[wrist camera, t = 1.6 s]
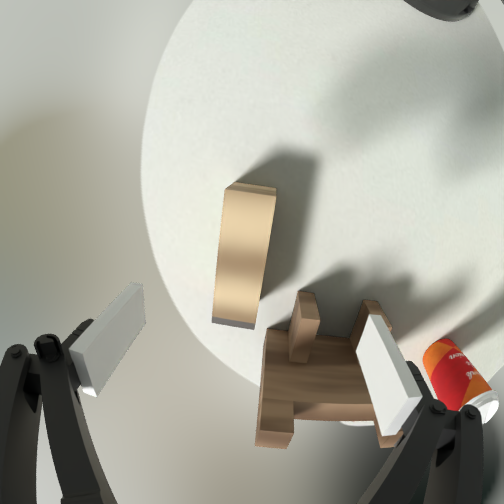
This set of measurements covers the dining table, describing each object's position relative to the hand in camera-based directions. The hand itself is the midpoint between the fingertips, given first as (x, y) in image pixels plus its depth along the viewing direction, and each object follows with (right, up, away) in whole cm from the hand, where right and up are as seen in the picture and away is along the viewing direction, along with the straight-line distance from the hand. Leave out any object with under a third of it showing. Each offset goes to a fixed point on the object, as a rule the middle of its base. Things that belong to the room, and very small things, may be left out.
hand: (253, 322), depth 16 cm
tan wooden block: (-1, +5, +17) cm, 17 cm away
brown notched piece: (+10, -6, +20) cm, 23 cm away
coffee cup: (+29, -12, +21) cm, 38 cm away
